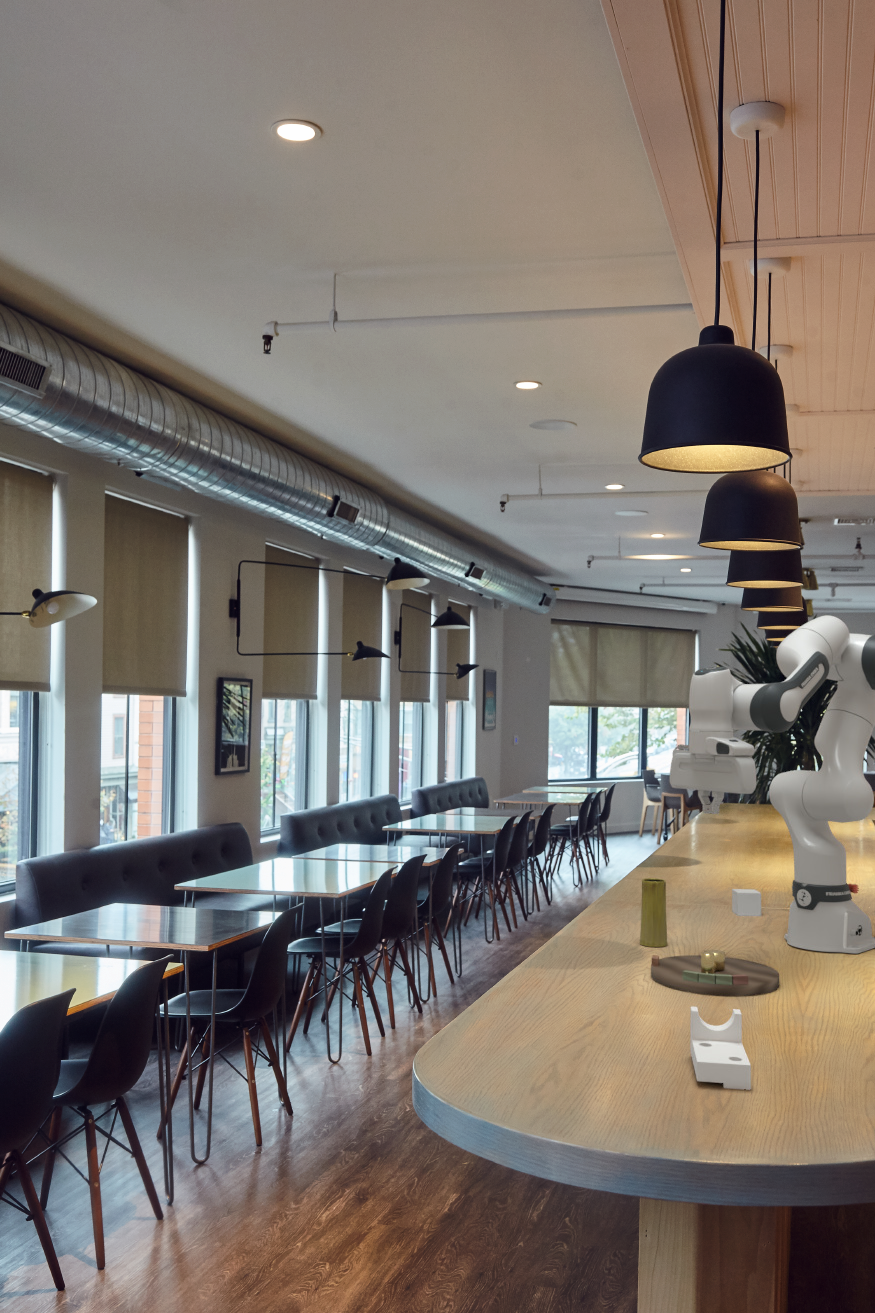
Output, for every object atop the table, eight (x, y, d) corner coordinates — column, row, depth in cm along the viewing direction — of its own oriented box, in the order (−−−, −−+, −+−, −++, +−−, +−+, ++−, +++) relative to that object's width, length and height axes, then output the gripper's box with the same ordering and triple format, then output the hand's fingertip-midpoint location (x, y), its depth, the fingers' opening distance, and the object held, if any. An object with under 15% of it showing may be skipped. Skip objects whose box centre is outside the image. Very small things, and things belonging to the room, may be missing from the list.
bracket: (690, 1058, 156) (690, 1006, 157) (739, 1061, 155) (739, 1009, 156) (697, 1088, 143) (697, 1032, 144) (750, 1092, 142) (750, 1035, 143)
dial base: (709, 960, 219) (709, 943, 220) (806, 985, 200) (806, 966, 200) (625, 974, 206) (625, 956, 206) (720, 1002, 186) (720, 982, 186)
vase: (667, 948, 231) (667, 882, 231) (639, 946, 232) (639, 881, 233) (667, 942, 237) (667, 878, 237) (639, 941, 238) (639, 877, 239)
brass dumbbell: (705, 964, 206) (705, 941, 206) (726, 966, 204) (726, 943, 204) (695, 978, 194) (695, 954, 195) (717, 980, 193) (717, 956, 193)
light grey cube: (732, 912, 277) (732, 889, 277) (755, 912, 277) (755, 889, 277) (737, 916, 271) (737, 892, 271) (761, 916, 271) (761, 893, 271)
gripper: (662, 744, 222) (662, 809, 221) (739, 747, 205) (739, 818, 204) (683, 744, 226) (683, 808, 225) (761, 747, 209) (761, 817, 208)
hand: (711, 813), depth 214 cm, fingers closed
